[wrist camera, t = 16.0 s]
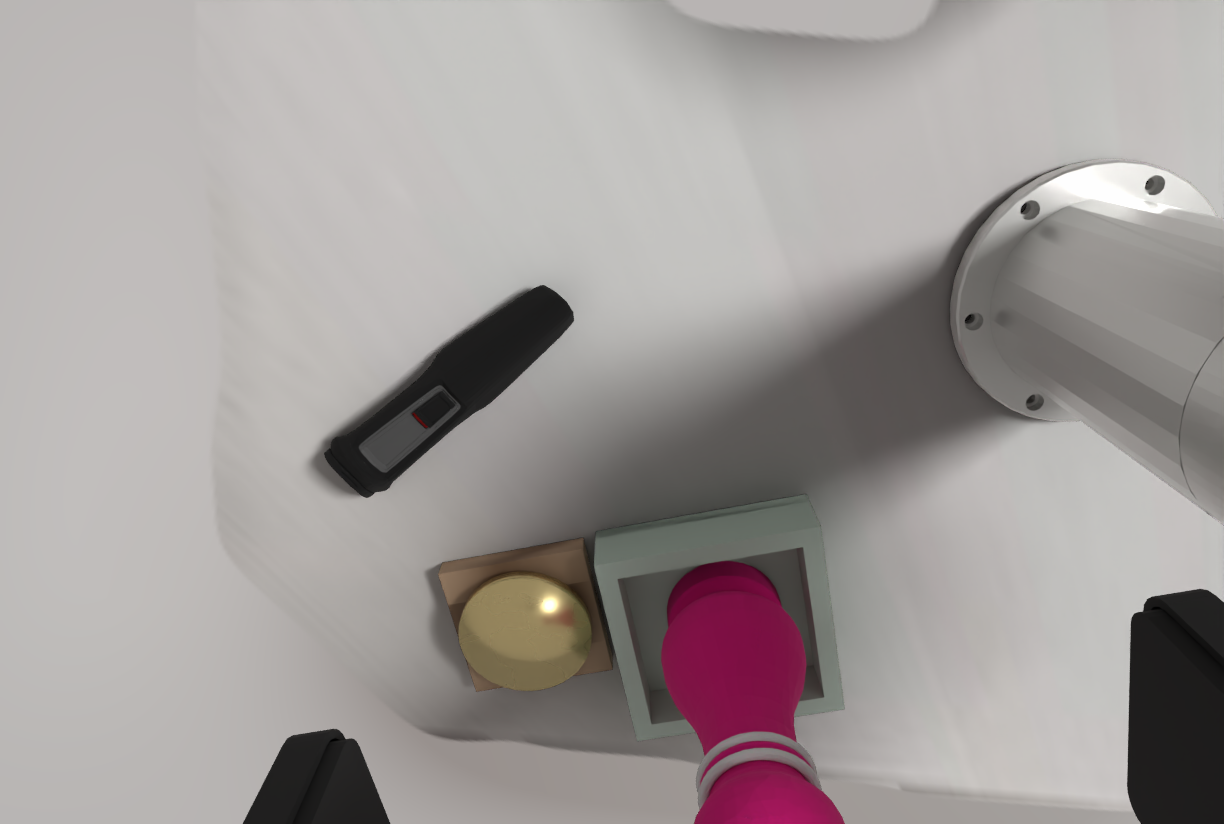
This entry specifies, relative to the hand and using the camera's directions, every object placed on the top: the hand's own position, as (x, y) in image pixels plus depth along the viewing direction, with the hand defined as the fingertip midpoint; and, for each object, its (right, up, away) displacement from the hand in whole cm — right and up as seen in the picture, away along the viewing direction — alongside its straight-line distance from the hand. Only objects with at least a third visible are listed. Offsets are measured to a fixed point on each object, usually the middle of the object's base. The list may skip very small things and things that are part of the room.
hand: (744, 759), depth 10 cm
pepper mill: (+5, -7, +37) cm, 37 cm away
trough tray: (+4, -7, +37) cm, 38 cm away
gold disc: (-6, -7, +38) cm, 39 cm away
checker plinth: (-6, -7, +38) cm, 39 cm away
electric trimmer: (-10, +6, +33) cm, 35 cm away
